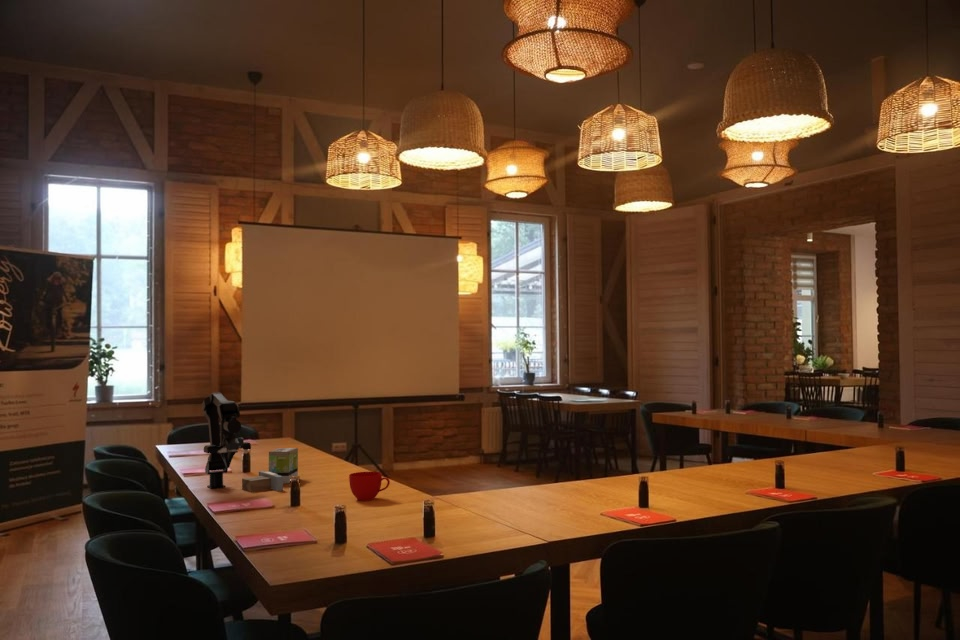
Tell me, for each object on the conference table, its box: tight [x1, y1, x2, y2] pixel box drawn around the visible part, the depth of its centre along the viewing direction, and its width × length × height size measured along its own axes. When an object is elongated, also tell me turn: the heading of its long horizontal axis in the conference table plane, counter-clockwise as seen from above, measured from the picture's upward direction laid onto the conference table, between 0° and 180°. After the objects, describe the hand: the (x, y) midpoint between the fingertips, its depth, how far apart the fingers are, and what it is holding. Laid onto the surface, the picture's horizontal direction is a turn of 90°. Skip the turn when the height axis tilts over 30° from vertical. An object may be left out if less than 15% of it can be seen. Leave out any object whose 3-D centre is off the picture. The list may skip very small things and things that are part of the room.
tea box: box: [268, 447, 299, 484], centre depth 354 cm, size 15×10×15 cm, turn 179°
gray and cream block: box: [258, 470, 284, 492], centre depth 337 cm, size 22×3×6 cm, turn 37°
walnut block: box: [241, 475, 272, 493], centre depth 333 cm, size 9×9×5 cm
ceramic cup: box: [348, 471, 391, 502], centre depth 303 cm, size 13×17×10 cm
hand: (227, 467), depth 326 cm, fingers closed
